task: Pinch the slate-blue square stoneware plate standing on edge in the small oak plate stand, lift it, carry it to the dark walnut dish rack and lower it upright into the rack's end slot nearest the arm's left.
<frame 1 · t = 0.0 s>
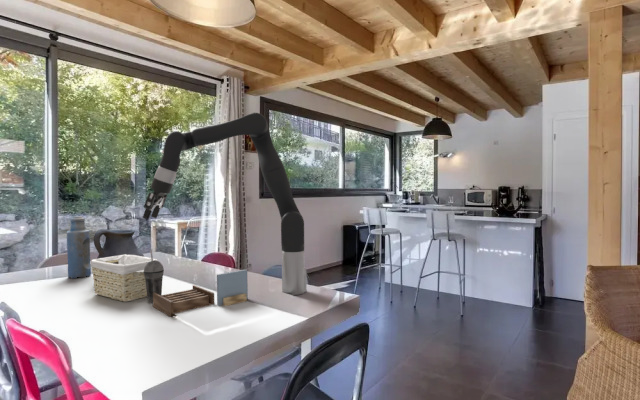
hand: (149, 217, 149), 31 cm above the table, tool tilted 20°, fingers open, 8 cm apart
plate: (232, 301, 138), point 1 cm above the table, touching plate stand
plate stand: (232, 304, 138), on the table
storage basket: (125, 295, 153), on the table
beverage cup: (154, 301, 144), on the table
bottle: (79, 276, 188), on the table
rack: (183, 306, 136), on the table
pitcher: (119, 280, 179), on the table
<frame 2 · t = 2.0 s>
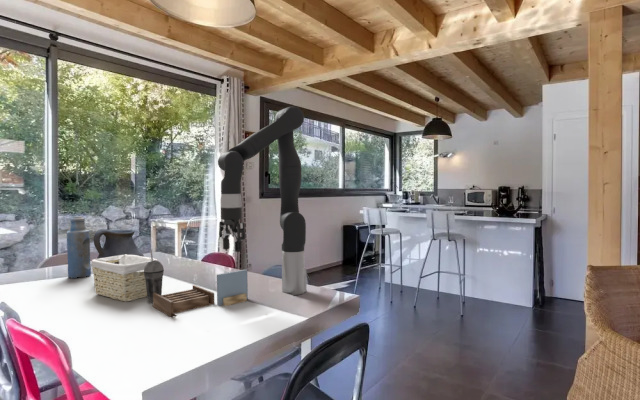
hand: (232, 250, 138), 20 cm above the table, tool pointing down, fingers open, 8 cm apart
nothing on the table moved.
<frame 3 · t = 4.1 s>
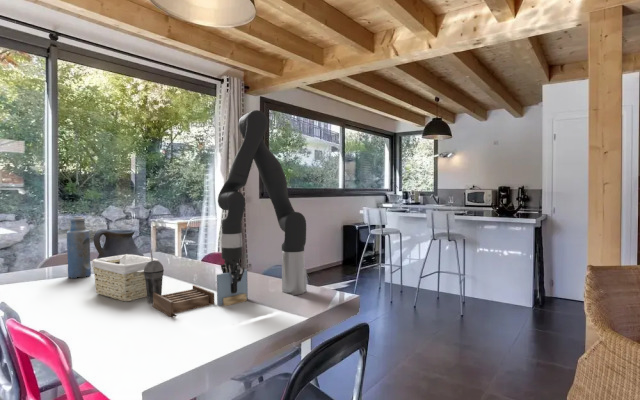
hand: (232, 292, 138), 5 cm above the table, tool pointing down, fingers closed on plate, 1 cm apart
plate: (232, 301, 138), point 1 cm above the table, touching gripper, plate stand
everything else where it was.
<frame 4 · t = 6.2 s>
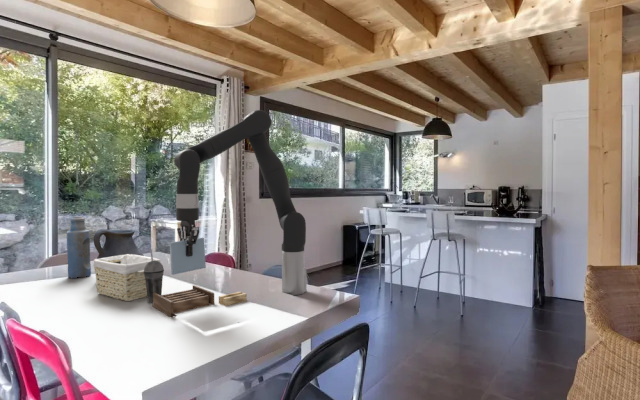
hand: (188, 255, 133), 19 cm above the table, tool pointing down, fingers closed on plate, 1 cm apart
plate: (189, 270, 133), point 14 cm above the table, touching gripper
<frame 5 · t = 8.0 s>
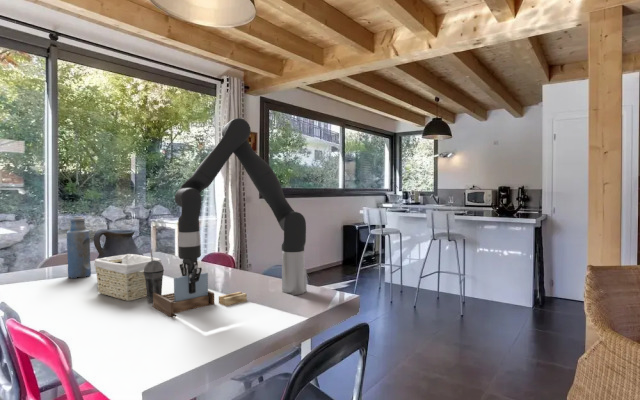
hand: (191, 292, 133), 6 cm above the table, tool pointing down, fingers closed on plate, 1 cm apart
plate: (191, 305, 134), point 1 cm above the table, touching gripper, rack
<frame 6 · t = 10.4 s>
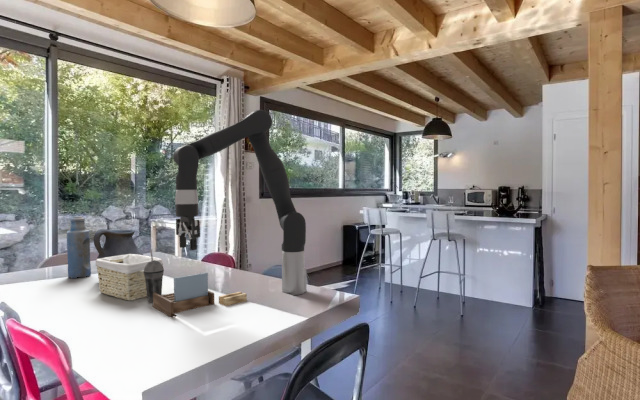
hand: (188, 248, 132), 22 cm above the table, tool pointing down, fingers open, 8 cm apart
plate: (191, 305, 134), point 1 cm above the table, touching rack
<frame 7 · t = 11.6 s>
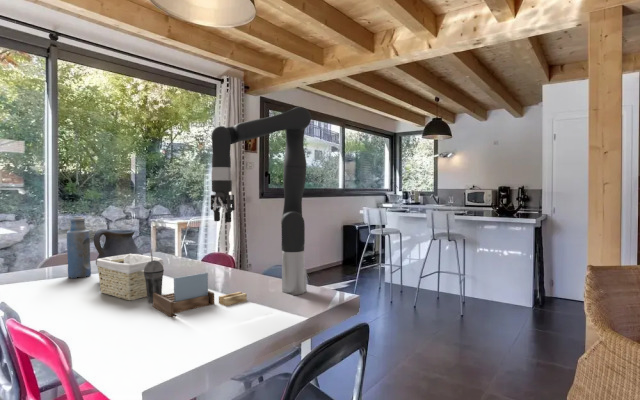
hand: (222, 221, 144), 30 cm above the table, tool pointing down, fingers open, 8 cm apart
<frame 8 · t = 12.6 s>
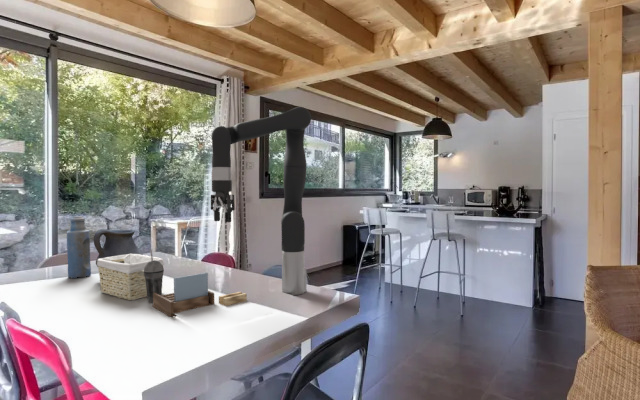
hand: (222, 221, 144), 30 cm above the table, tool pointing down, fingers open, 8 cm apart
at the end: plate 1.0 cm from the target spot on the rack, point 1.0 cm above the rack's base; plate tilted 0°; the gripper is holding nothing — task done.
